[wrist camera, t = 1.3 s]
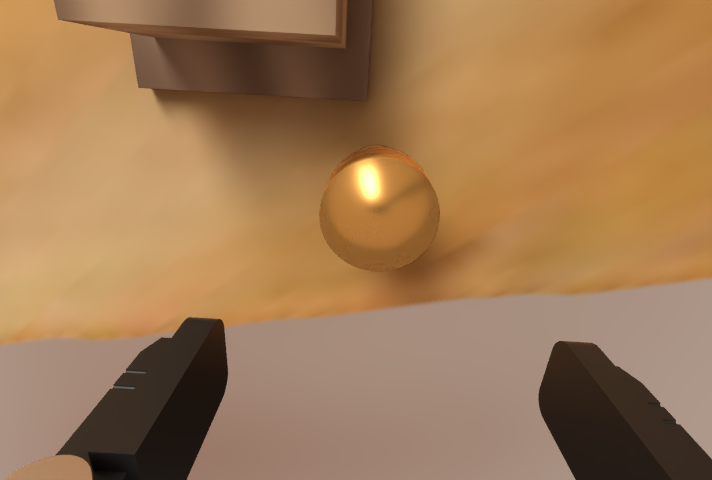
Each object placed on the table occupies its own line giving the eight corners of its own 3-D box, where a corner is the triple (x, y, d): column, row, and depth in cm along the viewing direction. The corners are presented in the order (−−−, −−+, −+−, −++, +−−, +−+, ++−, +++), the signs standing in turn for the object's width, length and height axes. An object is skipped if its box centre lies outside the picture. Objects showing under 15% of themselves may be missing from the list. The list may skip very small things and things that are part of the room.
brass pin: (421, 133, 27) (448, 161, 18) (411, 213, 29) (431, 274, 20) (336, 128, 27) (320, 154, 18) (334, 208, 29) (318, 267, 20)
